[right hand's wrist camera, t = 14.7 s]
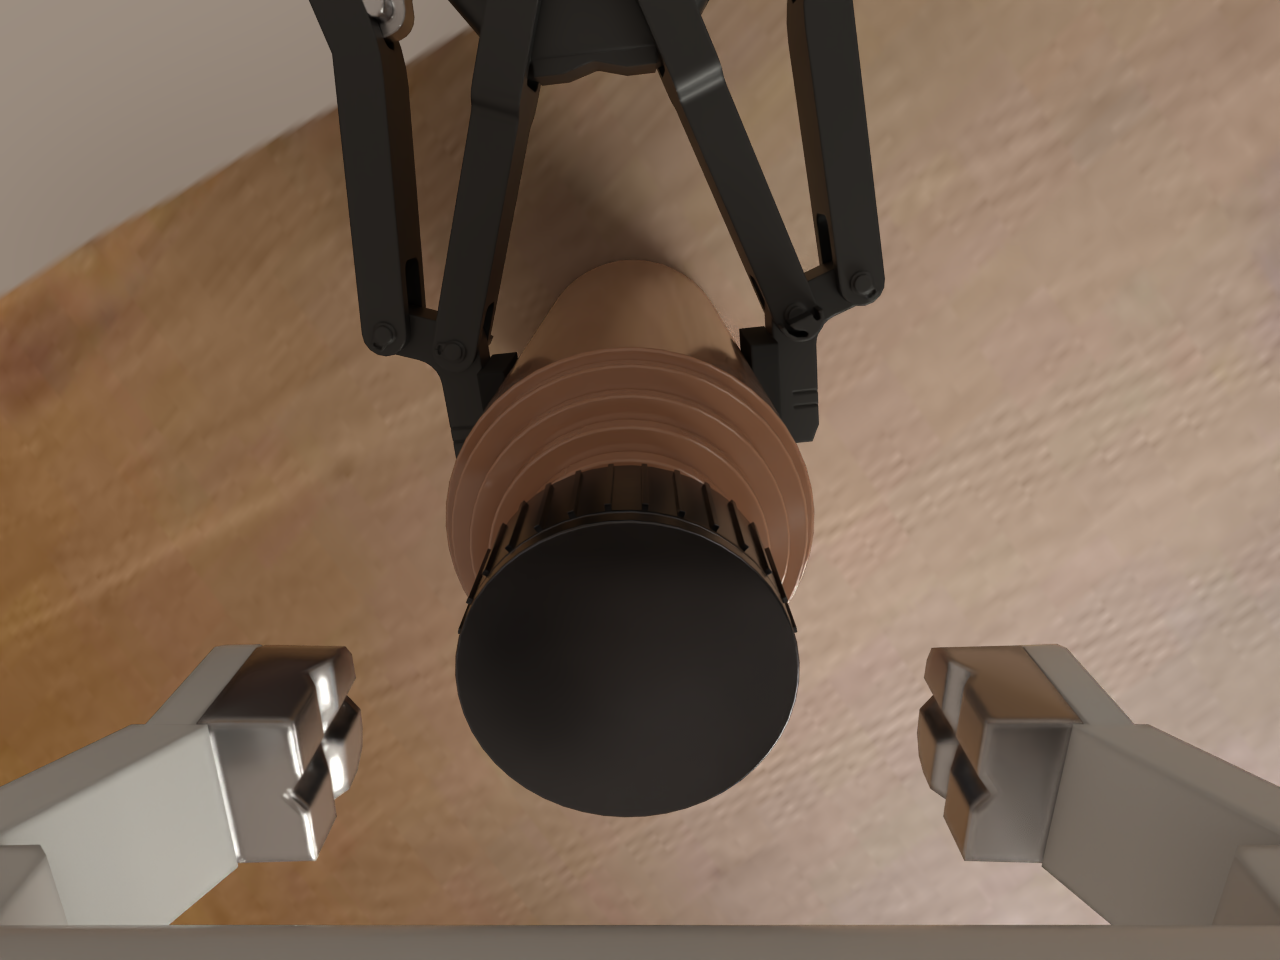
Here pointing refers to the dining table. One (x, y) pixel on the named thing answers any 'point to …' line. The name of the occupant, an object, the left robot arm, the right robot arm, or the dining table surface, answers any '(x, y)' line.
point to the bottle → (631, 414)
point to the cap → (627, 644)
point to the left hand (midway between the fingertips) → (649, 551)
